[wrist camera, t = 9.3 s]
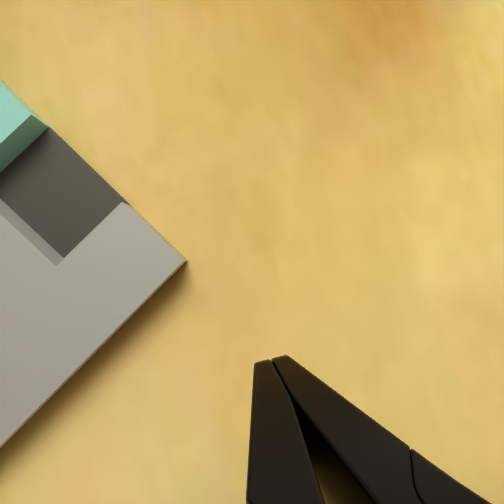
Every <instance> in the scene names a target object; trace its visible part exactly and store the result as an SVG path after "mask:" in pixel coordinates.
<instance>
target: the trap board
mask: <svg viewBox="0 0 504 504" xmlns="http://www.w3.org/2000/svg"><path fill="white" fill-rule="evenodd" d="M186 261H187V259H186V258H185V257H184V256H183V255H181V254H180V253H179V252H178V251H177V250H176V249H175V248H174V247H173V246H172V245H171V244H170V243H169V242H168V241H167V240H166V239H165V238H164V237H163V236H162V235H161V234H160V233H159V232H158V231H157V230H156V229H155V228H154V227H153V226H151V225H150V224H149V223H148V222H147V221H146V220H145V219H144V218H143V217H142V216H141V215H140V214H139V213H138V212H137V211H136V210H135V209H134V208H133V207H132V206H131V205H130V204H129V203H128V202H127V201H126V200H125V199H124V198H123V197H122V196H120V195H119V194H118V193H117V192H116V191H115V190H114V189H113V188H112V187H111V186H110V185H109V184H108V183H107V182H106V181H105V180H104V179H103V178H102V177H101V176H100V175H99V174H98V173H97V172H96V171H95V170H94V169H93V168H92V167H91V166H89V165H88V164H87V163H86V162H85V161H84V160H83V159H82V158H81V157H80V156H79V155H78V154H77V153H76V152H75V151H74V150H73V149H72V148H71V147H70V146H69V145H68V144H67V143H66V142H65V141H64V140H63V139H62V138H61V137H59V136H58V135H57V134H56V133H55V132H54V131H53V130H52V129H51V128H50V127H48V128H47V129H46V130H45V131H44V132H43V133H42V134H41V135H40V136H39V137H38V138H37V139H36V140H34V141H33V142H32V143H31V144H30V145H29V146H28V147H27V148H26V149H25V150H24V151H23V152H22V153H21V154H20V155H19V156H18V157H16V158H15V159H14V160H13V161H12V162H11V163H10V164H9V165H8V166H7V167H6V168H5V169H4V170H3V171H2V172H1V173H0V449H1V448H2V447H3V446H4V445H5V444H6V443H7V442H8V440H9V439H10V438H11V437H12V436H13V435H14V434H15V433H16V432H17V431H18V430H19V429H20V428H21V427H22V426H23V425H24V424H25V423H26V422H27V421H28V420H29V419H30V418H31V417H32V416H33V415H34V414H35V413H36V412H37V411H38V410H39V409H40V408H41V407H42V406H43V405H44V404H45V403H46V402H47V401H48V400H49V399H50V398H51V397H52V396H53V395H54V394H55V393H56V392H57V391H58V390H59V389H60V388H61V387H62V386H63V385H64V384H65V383H66V382H67V381H68V380H69V379H70V378H71V377H72V376H73V375H74V374H75V373H76V372H77V371H78V370H79V369H80V368H81V367H82V366H83V365H84V364H85V363H86V362H87V361H88V360H89V359H90V358H91V357H92V356H93V355H94V354H95V353H96V352H97V351H98V350H99V349H100V348H101V347H102V346H103V345H104V344H105V343H106V342H107V341H108V340H109V339H110V338H111V337H112V336H113V335H114V334H115V333H116V332H117V331H118V330H119V329H120V328H121V327H122V326H123V325H124V324H125V323H126V322H127V321H128V320H129V319H130V318H131V317H132V316H133V315H134V313H135V312H136V311H137V310H138V309H139V308H140V307H141V306H142V305H143V304H144V303H145V302H146V301H147V300H148V299H149V298H150V297H151V296H152V295H153V294H154V293H155V292H156V291H157V290H158V289H159V288H160V287H161V286H162V285H163V284H164V283H165V282H166V281H167V280H168V279H169V278H170V277H171V276H172V275H173V274H174V273H175V272H176V271H177V270H178V269H179V268H180V267H181V266H182V265H183V264H184V263H185V262H186Z"/></svg>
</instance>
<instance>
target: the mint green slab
mask: <svg viewBox="0 0 504 504" xmlns="http://www.w3.org/2000/svg"><path fill="white" fill-rule="evenodd" d="M48 127H49V126H48V125H47V124H46V123H45V122H44V121H43V120H42V119H41V118H40V117H39V116H38V115H37V114H36V113H35V112H34V111H33V110H31V109H30V108H29V107H28V106H27V105H26V104H25V103H24V102H23V101H22V100H21V99H20V98H19V97H18V96H17V95H16V94H15V93H14V92H13V91H12V90H11V89H10V88H9V87H8V86H7V85H6V84H5V83H4V82H3V81H1V80H0V173H1V172H2V171H3V170H4V169H5V168H6V167H7V166H8V165H9V164H10V163H11V162H12V161H13V160H14V159H15V158H16V157H18V156H19V155H20V154H21V153H22V152H23V151H24V150H25V149H26V148H27V147H28V146H29V145H30V144H31V143H32V142H33V141H34V140H36V139H37V138H38V137H39V136H40V135H41V134H42V133H43V132H44V131H45V130H46V129H47V128H48Z"/></svg>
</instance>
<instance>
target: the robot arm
mask: <svg viewBox="0 0 504 504" xmlns="http://www.w3.org/2000/svg"><path fill="white" fill-rule="evenodd" d="M246 504H491V503H490V502H488V501H487V500H485V499H483V498H482V497H480V496H479V495H477V494H476V493H474V492H473V491H471V490H470V489H468V488H467V487H465V486H464V485H462V484H461V483H459V482H458V481H456V480H455V479H453V478H452V477H451V476H449V475H448V474H446V473H445V472H444V471H442V470H441V469H439V468H438V467H437V466H435V465H434V464H432V463H431V462H430V461H428V460H427V459H426V458H424V457H423V456H422V455H420V454H419V453H418V452H416V451H415V450H414V449H411V450H410V447H409V446H408V445H407V444H405V443H404V442H403V441H401V440H400V439H399V438H397V437H396V436H395V435H393V434H392V433H391V432H389V431H388V430H387V429H385V428H384V427H383V426H381V425H380V424H379V423H377V422H376V421H375V420H373V419H372V418H371V417H369V416H368V415H367V414H365V413H364V412H363V411H361V410H360V409H359V408H357V407H356V406H355V405H353V404H352V403H351V402H349V401H348V400H347V399H345V398H344V397H343V396H341V395H340V394H339V393H337V392H336V391H335V390H333V389H332V388H331V387H329V386H328V385H327V384H325V383H324V382H323V381H321V380H320V379H319V378H317V377H316V376H315V375H313V374H312V373H310V372H309V371H308V370H306V369H305V368H304V367H302V366H301V365H300V364H298V363H297V362H296V361H294V360H293V359H292V358H290V357H289V356H287V355H284V356H280V357H276V358H273V359H272V360H269V359H268V360H263V361H259V362H256V363H255V364H254V374H253V390H252V407H251V423H250V440H249V457H248V473H247V490H246Z"/></svg>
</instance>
